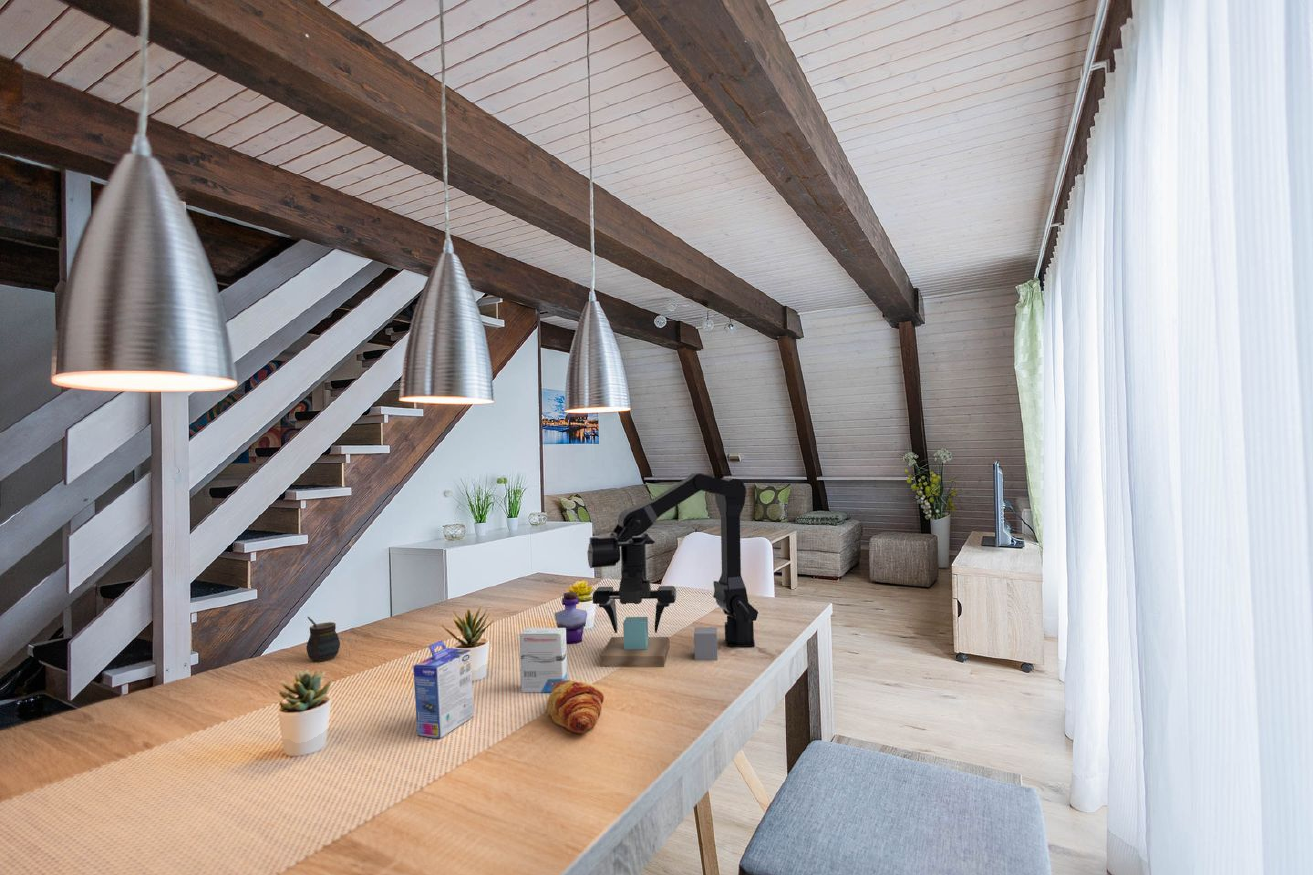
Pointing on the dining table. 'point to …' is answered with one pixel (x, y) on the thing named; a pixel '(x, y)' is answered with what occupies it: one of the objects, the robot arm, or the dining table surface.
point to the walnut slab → (635, 653)
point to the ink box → (542, 658)
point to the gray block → (705, 643)
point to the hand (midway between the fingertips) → (635, 632)
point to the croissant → (575, 705)
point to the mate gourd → (323, 641)
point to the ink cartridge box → (443, 691)
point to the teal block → (635, 633)
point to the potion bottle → (571, 618)
